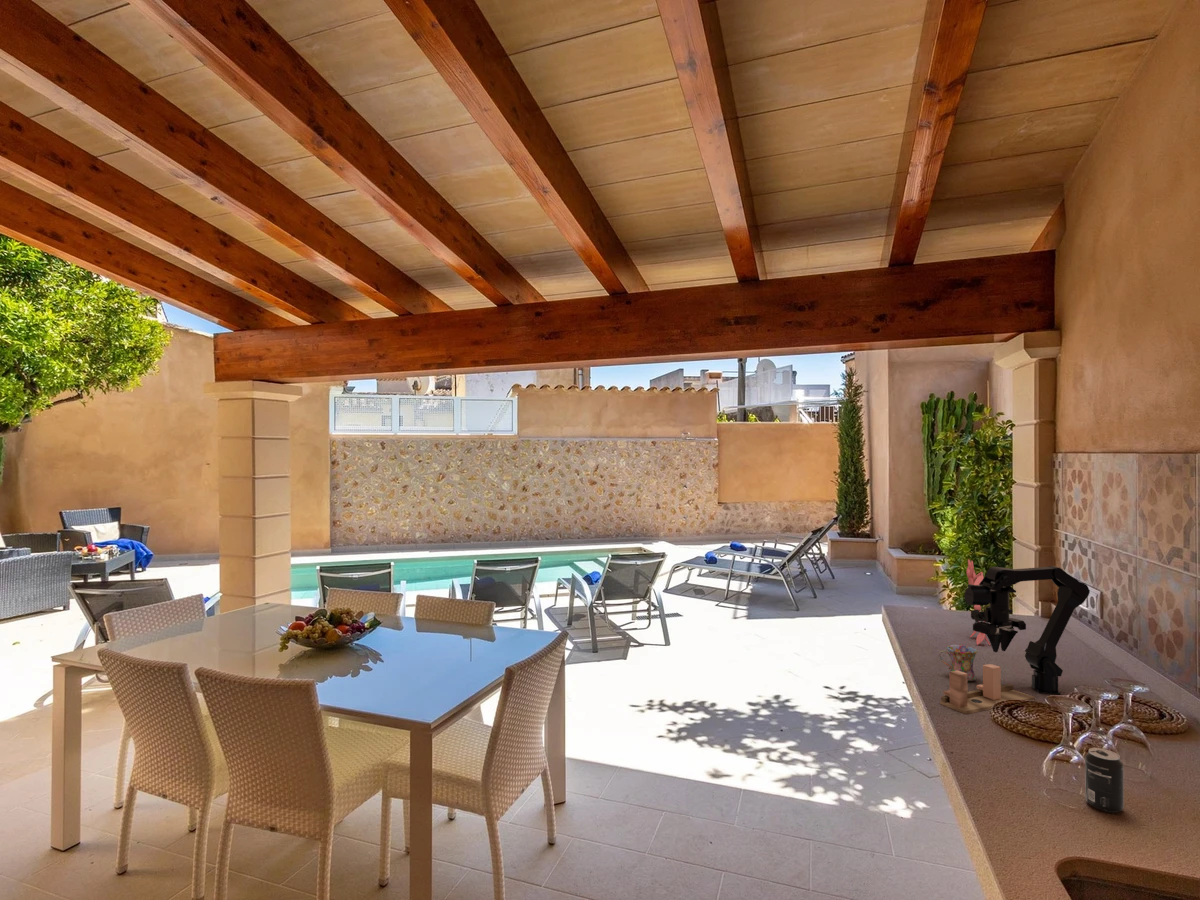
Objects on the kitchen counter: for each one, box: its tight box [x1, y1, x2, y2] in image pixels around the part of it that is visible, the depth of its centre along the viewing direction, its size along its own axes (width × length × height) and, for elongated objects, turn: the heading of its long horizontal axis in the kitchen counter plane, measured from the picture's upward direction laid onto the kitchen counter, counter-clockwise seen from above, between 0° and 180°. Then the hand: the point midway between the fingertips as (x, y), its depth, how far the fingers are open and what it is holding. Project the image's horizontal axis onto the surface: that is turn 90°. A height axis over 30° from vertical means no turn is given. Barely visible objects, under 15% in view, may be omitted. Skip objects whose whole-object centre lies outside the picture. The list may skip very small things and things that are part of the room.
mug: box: [938, 644, 978, 682], centre depth 232 cm, size 12×9×11 cm
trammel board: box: [939, 670, 1036, 715], centre depth 209 cm, size 32×9×11 cm, turn 112°
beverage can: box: [1084, 747, 1125, 814], centre depth 146 cm, size 7×7×12 cm
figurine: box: [965, 558, 991, 646], centre depth 280 cm, size 15×26×35 cm, turn 158°
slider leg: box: [976, 663, 1002, 700], centre depth 211 cm, size 4×6×10 cm, turn 22°
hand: (999, 651), depth 220 cm, fingers open, 4 cm apart
